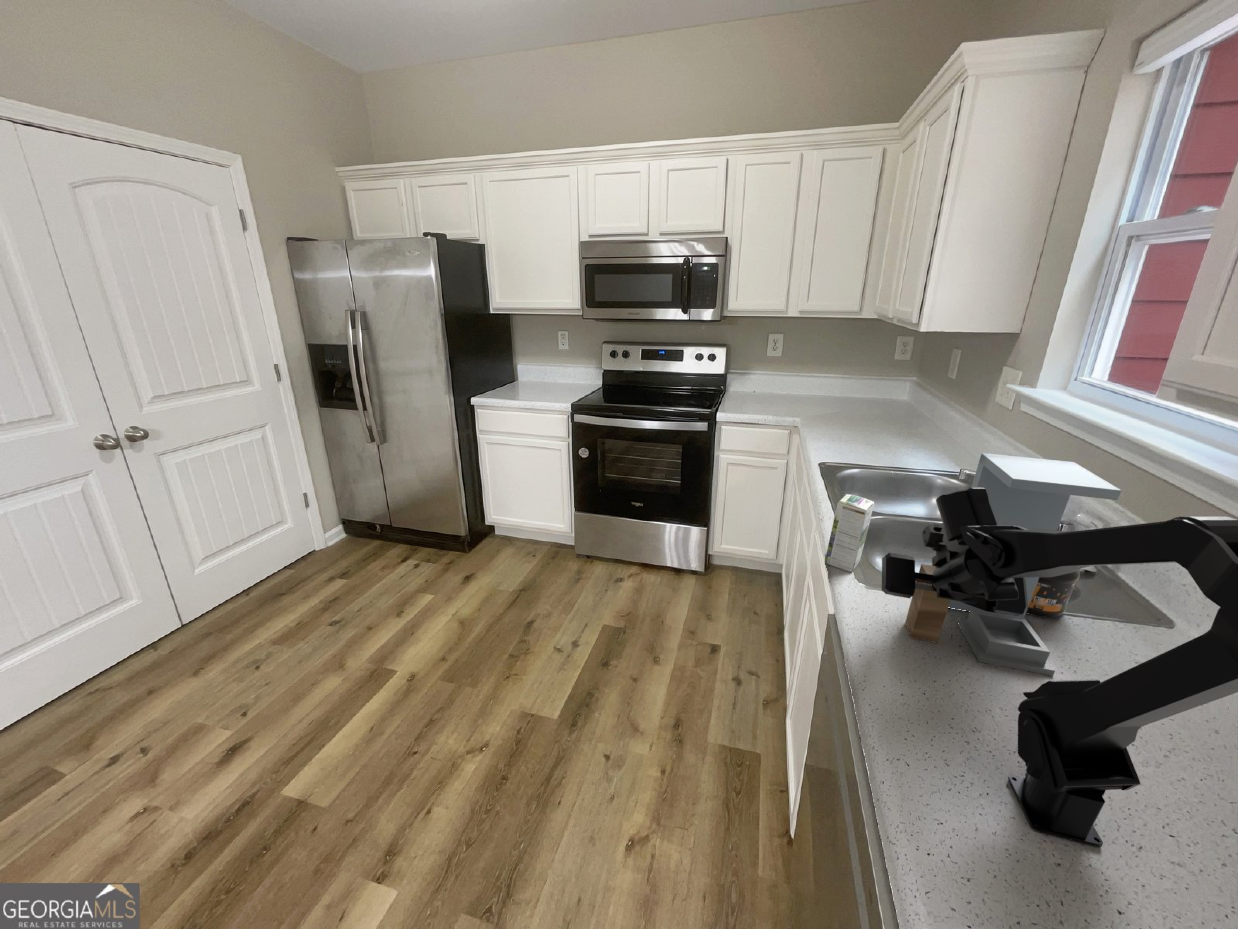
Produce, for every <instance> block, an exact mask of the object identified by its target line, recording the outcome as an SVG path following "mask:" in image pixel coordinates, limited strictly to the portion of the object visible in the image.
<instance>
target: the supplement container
mask: <svg viewBox="0 0 1238 929" xmlns="http://www.w3.org/2000/svg"><path fill="white" fill-rule="evenodd" d="M1079 570H1080V569H1079ZM1079 570H1077V571H1076V572H1072V573H1068V574H1064V575H1059V576H1055V577H1039V580H1038V583H1037V585H1036V588H1035V591H1034V593H1033V596H1032V599H1031V601H1030V604H1029V607H1028V609H1027V612H1026V614H1027V613H1029V614H1028V615H1030V614H1032V615H1031V616H1034V615H1035V616H1034V617H1038V616H1040V618H1056V617H1060V616H1062V615H1063V614H1064V613H1065V612H1066V610H1067V606H1068V602H1069V600H1070V598H1071V595H1072V593H1073V591H1074V588H1075V586H1076V584H1077V581H1078V580H1079V579H1080V574H1081V573H1080V571H1079Z"/></svg>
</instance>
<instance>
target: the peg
mask: <svg viewBox="0 0 1238 929" xmlns="http://www.w3.org/2000/svg"><path fill="white" fill-rule="evenodd" d="M935 569H936V566H932V565H931V564H925V563H921V564H920V567H919V571H918V573H924V574H930V575H933V572H934V570H935ZM915 582H916V581H915ZM916 583H917V582H916ZM920 583H922V582H919V584H920ZM922 584H923V583H922ZM925 584H926V583H925ZM927 584H929V583H927ZM930 585H932V584H930ZM933 586H934V585H933ZM910 599H911V600H910V604H909V607H908V610H907V615H906V618H905V622H904V624H905V627H906V626H907V627H906V629H907V632H908V634H909V637H910V639H914V640H920V641H925V642H931V643H937V644H938V642H939V639H940V636H941V634H942V629H943V625H944V622H945V620H946V616H947V612H948V610H949V609H948V607H949V604H950V600H948V599H942V598H937V592H933V591H927V590H921V589H915V592H914V595H913V596H912V597H911V598H910Z"/></svg>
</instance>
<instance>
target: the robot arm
mask: <svg viewBox="0 0 1238 929" xmlns="http://www.w3.org/2000/svg"><path fill="white" fill-rule="evenodd" d="M935 502H936V505H937V506H936V507H937V508H938V513H939V516H940V518H941V521H942V522H941V523H934V524H933V525H932V524H929V525H927V526H925V527H924V529H923V530H922V533H921V536H922V541H923V546H924V547H926V548H931V549H932V551H933V552H935V555H934V556H933V557H931V564H932V566H936V569H935V570H934V572H933V575H930V574H924V573H919V572H916V560H915V558H914V556H913V555H907V554H900V553H894V552H888V553H886V554H885V555H884V556H883V557H882V558H881V592H883V593H884V594H885V595H889V596H890V595H891V596H894V597H898V598H899V597H900V598H906V599H911V598H912V596H913V595H914V592H915V589H921V590H927V591H933V592H937V598H942V599H948V600H954V601H960V602H962V603H964V604H967V605H970V606H973V607H976V608H978V609H981V610H984V611H987V612H993V613H999V614H1007V615H1012V616H1019V615H1022V614H1024V613H1025V612H1026V611H1027V609H1028V599H1027V590H1026V580H1025V579H1024V577H1055V576H1059V575H1064V574H1068V573H1072V572H1076V571H1077V570H1080V569H1084V568H1089V567H1097V566H1123V565H1125V566H1126V565H1129V566H1130V565H1150V564H1151V565H1152V564H1155V565H1157V564H1173V563H1174V564H1178V565H1179V566H1181V567H1182V568H1184V569H1185V570H1186V571H1187V572H1188V574H1189V575H1190V577H1191V578H1192V579H1193V581H1194V583H1195V584H1196V586H1197V587H1198V588H1199V590H1200V592H1201V593H1202V595H1204V596H1205V598H1207V599H1209V601H1211V602H1212V603H1214V604H1215V605H1216V606H1217V607H1219V608H1218V609H1217V610H1216V614H1215V616H1214V619H1213V622H1212V624H1211V627H1210V628H1209V629H1208V630H1207V631H1206V632H1205V633H1203V634H1200V635H1198V636H1197V637H1195V638H1192V639H1190V640H1188V641H1186V642H1183V643H1182V644H1179V645H1177V646H1176V647H1174V648H1173V647H1172V648H1171V649H1169V650H1167V651H1164V652H1163V653H1161V654H1159V655H1157V656H1154V657H1152V658H1150V659H1147V660H1146V661H1144V662H1141V663H1140V664H1138V665H1135V666H1133V667H1131V668H1128V669H1127V670H1124V671H1122V672H1120V673H1118V674H1116V675H1114V676H1112V677H1110V678H1107V679H1105V680H1103V681H1100V679H1070V680H1067V679H1066V680H1064V679H1063V680H1061V679H1060V680H1048V681H1046V682H1044V683H1042V684H1040V685H1039V687H1038V688H1037V689H1035V690H1034V691H1024V692H1022V695H1023V696H1024V697H1025V698H1026V699H1023V700H1022V701H1021V702H1020V703H1019V705H1018V707H1017V710H1018V712H1019V713H1018V717H1017V755H1018V757H1019V758H1021V760H1022V761H1023V763H1025V766H1026V769H1025V774H1024V776H1025V777H1021V776H1017V775H1011V774H1010V775H1009V776H1008V778H1007V781H1008V782H1009V784H1010V787H1011V789H1012V791H1013V793H1014V795H1015V797H1016V799H1017V801H1018V804H1019V805H1020V807H1021V810H1022V812H1023V815H1024V816H1025V818H1026V820H1027V823H1028V824H1029V826H1030V828H1031V829H1032V830H1034V831H1035V832H1039V833H1042V834H1045V835H1049V836H1053V837H1058V838H1061V839H1065V840H1069V841H1073V842H1076V843H1081V844H1085V845H1088V846H1093V847H1097V848H1101V847H1102V846H1103V844H1104V842H1103V840H1102V838H1101V836H1100V834H1099V833H1098V831H1097V830H1096V828H1095V827H1094V824H1095V822H1096V820H1097V818H1099V817H1098V816H1099V815H1100V812H1101V811H1102V809H1103V807H1104V805H1105V803H1106V801H1105V798H1104V795H1105V793H1106V791H1111V790H1113V791H1114V790H1115V791H1116V790H1121V791H1129V790H1132V789H1133V788H1135V787H1137V786H1139V785H1140V783H1141V780H1140V778H1139V775H1138V773H1137V771H1136V768H1135V766H1134V763H1133V761H1132V760H1133V759H1132V757H1131V755H1130V752H1129V750H1128V748H1127V747H1128V746H1130V745H1131V744H1132V743H1133V744H1134V742H1135V741H1136V738H1137V736H1138V731H1139V729H1141V728H1142V727H1144V726H1148V725H1151V724H1153V723H1156V722H1158V721H1161V720H1163V719H1167V718H1170V717H1173V716H1175V715H1178V714H1181V713H1183V712H1187V711H1189V710H1193V709H1195V708H1198V707H1200V706H1203V705H1206V704H1209V703H1211V702H1215V701H1217V700H1220V699H1223V698H1226V697H1228V696H1232V695H1235V694H1237V693H1238V519H1236V518H1233V517H1229V516H1177V517H1173V518H1171V519H1169V520H1164V521H1155V522H1147V523H1145V522H1144V523H1136V524H1127V525H1118V526H1110V527H1102V528H1094V529H1093V528H1092V529H1085V530H1083V529H1082V530H1072V531H1065V530H1057V531H1055V530H1028V529H1025V528H1023V527H1020V526H996V525H997V522H996V520H995V517H994V514H993V512H992V509H991V506H990V503H989V498H988V494H987V492H986V489H985V488H971V487H970V488H968V489H965V490H959V491H955V492H951V493H947V494H941V495H940V496H938V497H937V498H936V499H935ZM916 582H917V583H916ZM919 582H922V583H923V584H922V583H920V584H919ZM925 583H926V584H925ZM927 583H929V584H927ZM930 584H932V585H930ZM933 585H934V586H933Z"/></svg>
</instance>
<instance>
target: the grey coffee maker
mask: <svg viewBox="0 0 1238 929" xmlns="http://www.w3.org/2000/svg"><path fill="white" fill-rule="evenodd" d="M970 488H985V489H986V492H987V494H988V498H989V503H990V506H991V509H992V512H993V514H994V517H995V520H996V522H997V525H996V526H1020V527H1023V528H1025V529H1028V530H1055V531H1058V530H1059V526H1060V523H1061V522H1062V518H1063V516H1064V514H1065V510H1066V507H1067V506H1068V505H1067V504H1068V502H1069V500H1070V497H1071V496H1076V497H1086V498H1093V499H1103V500H1113V501H1118V500H1119V498H1120V495H1121V492H1122V489H1120V488H1119V487H1117V486H1115V485H1113V484H1111V483H1110V482H1108V481H1106V480H1105V479H1103V478H1101V477H1100V476H1098V475H1096V474H1094V473H1093V472H1091V471H1090V470H1088V469H1087V468H1085V467H1083V466H1081V465H1080V464H1078V463H1076V462H1074V461H1067V460H1066V461H1064V460H1056V459H1055V460H1054V459H1046V458H1037V457H1026V456H1016V455H1015V456H1014V455H1005V454H998V453H997V454H994V453H988V452H987V453H986V452H984V453H983V452H982V453H981V454H980V457H979V460H978V464H977V468H976V470H975V473H974V477H973V481H972V484H971V486H970ZM1024 579H1025V580H1026V590H1027V599H1028V607H1029V604H1030V601H1031V599H1032V596H1033V593H1034V591H1035V588H1036V585H1037V583H1038V580H1039V577H1024ZM949 607H950V608H955V609H961V610H966V611H971V610H972V611H978V612H984V613H990V614H995V615H1001V616H1007V617H1013V618H1019V619H1025V617H1026V614H1027V613H1026V612H1027V611H1026V612H1025V613H1024V614H1022V615H1019V616H1012V615H1007V614H999V613H993V612H987V611H984V610H981V609H978V608H976V607H973V606H970V605H967V604H964V603H962V602H960V601H954V600H950V604H949Z"/></svg>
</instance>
